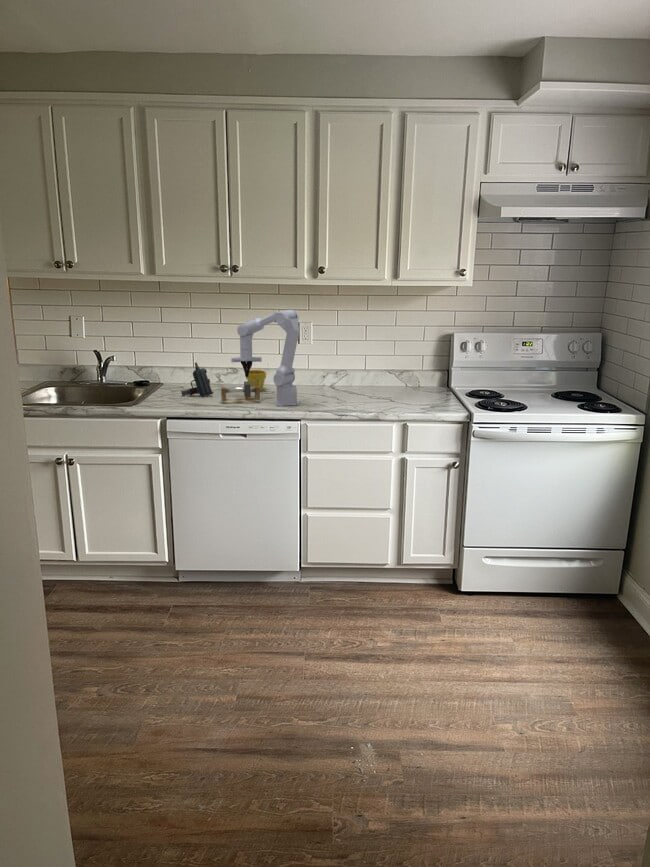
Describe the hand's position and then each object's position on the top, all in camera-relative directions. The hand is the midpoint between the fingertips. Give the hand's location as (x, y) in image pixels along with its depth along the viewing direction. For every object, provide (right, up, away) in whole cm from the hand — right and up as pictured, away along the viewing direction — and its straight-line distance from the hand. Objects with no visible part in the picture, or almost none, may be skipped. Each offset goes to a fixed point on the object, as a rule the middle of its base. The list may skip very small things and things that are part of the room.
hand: (246, 376), depth 312 cm
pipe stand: (-2, -13, -6) cm, 14 cm away
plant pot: (+3, -6, +17) cm, 19 cm away
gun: (-25, -10, +4) cm, 27 cm away
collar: (+1, -10, -6) cm, 12 cm away
